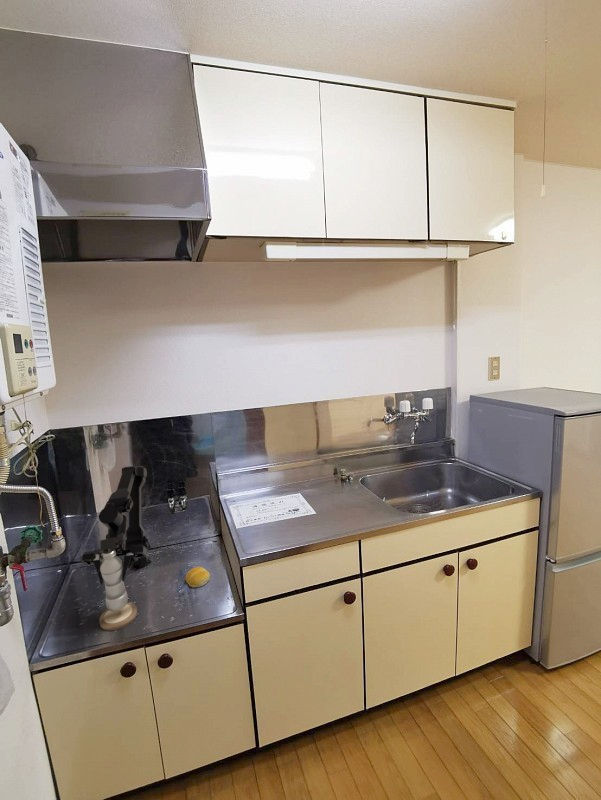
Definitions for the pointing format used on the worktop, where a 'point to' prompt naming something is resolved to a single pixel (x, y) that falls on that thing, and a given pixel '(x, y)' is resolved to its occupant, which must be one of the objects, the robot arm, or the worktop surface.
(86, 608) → the worktop surface
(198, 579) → the bread roll
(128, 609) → the tan round plate
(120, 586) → the plastic bottle
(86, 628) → the worktop surface
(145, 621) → the worktop surface
